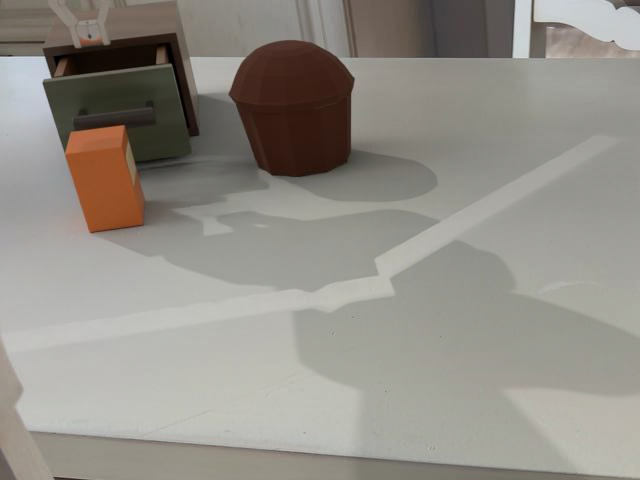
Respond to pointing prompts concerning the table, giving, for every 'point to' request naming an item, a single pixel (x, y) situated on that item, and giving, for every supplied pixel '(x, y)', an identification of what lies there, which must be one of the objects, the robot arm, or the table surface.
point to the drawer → (122, 98)
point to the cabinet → (136, 43)
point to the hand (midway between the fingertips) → (93, 45)
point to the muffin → (295, 107)
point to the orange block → (105, 178)
